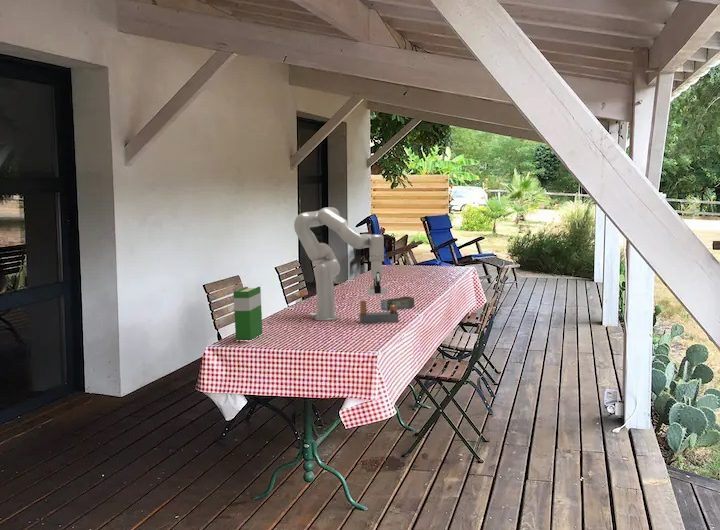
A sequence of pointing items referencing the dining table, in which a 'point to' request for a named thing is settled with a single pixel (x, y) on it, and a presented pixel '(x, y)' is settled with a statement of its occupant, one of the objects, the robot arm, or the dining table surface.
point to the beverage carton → (398, 303)
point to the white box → (372, 290)
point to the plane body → (377, 315)
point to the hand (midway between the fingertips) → (377, 292)
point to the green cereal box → (248, 313)
